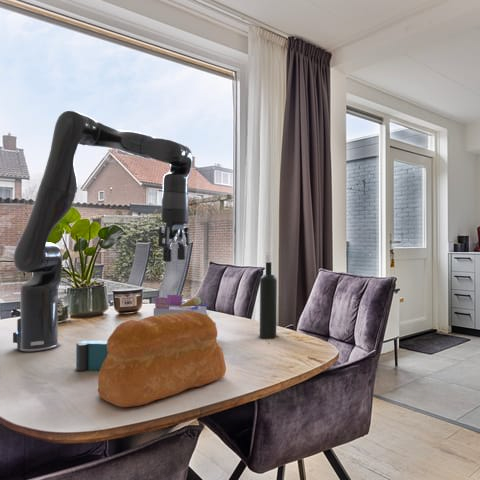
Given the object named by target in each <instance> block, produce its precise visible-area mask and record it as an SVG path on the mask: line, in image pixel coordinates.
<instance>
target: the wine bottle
mask: <svg viewBox="0 0 480 480" xmlns="http://www.w3.org/2000/svg"><path fill="white" fill-rule="evenodd" d="M272 263H273V253H272V252H265V274H263V275H262V276H260V279H259V282H260V283H259V338H260V339H265V340H268V339H275V338H276V337H277V306H278V305H277V302H278V301H277V297H278V293H277V291H278V287H277V286H278V278H277V277H276V276H275V275H274V274H272Z"/></svg>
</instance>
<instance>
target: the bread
mask: <svg viewBox="0 0 480 480" xmlns="http://www.w3.org/2000/svg"><path fill="white" fill-rule="evenodd" d="M214 322H215V321H214V320H213V319H212V318H211V317H210V316H209V315H208V314H207V315H205V314H202V313H198V312H193V311H185V312H182V313H173V314H162V315H157V316H154V315H150V316H146V317H144V318H141V319H139V320H136V319H135V320H134V319H129V320H126V321H122V323H119V324H118V325H117V326H116V327H115V328H114V330H113V331H112V333H111V334H110V336H109V337H108V339H107V341H108V342H107V351H108V355H107V357H106V359H105V361H104V362H103V364H102V367H101V369H100V370H99V373H98V377H97V378H98V379H97V380H98V381H97V383H98V384H97V385H98V387H97V392H98V395H99V397H100V398H101V399H103V401H105V402H107V403H110V404H112V405H114V406H116V407H119V408H131V407H137V406H138V407H139V406H143V405H146V404H149V403H152V402H154V401H156V400H161V399H164V398H166V397H172V396H175V395H178V394H180V393H182V392H183V391H186V390H188V389H194V388H197V387H202V386H204V385H208V384H211V383H213V382H215V381H218V380H220V379H222V378H223V377H224V376H225V375H226V372H227V365H226V361H225V356H224V352H223V349H222V347H221V346H220V344H219V343H218V340H217V337H218V328H217V324H216V325H215V323H216V322H215V323H214Z"/></svg>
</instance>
